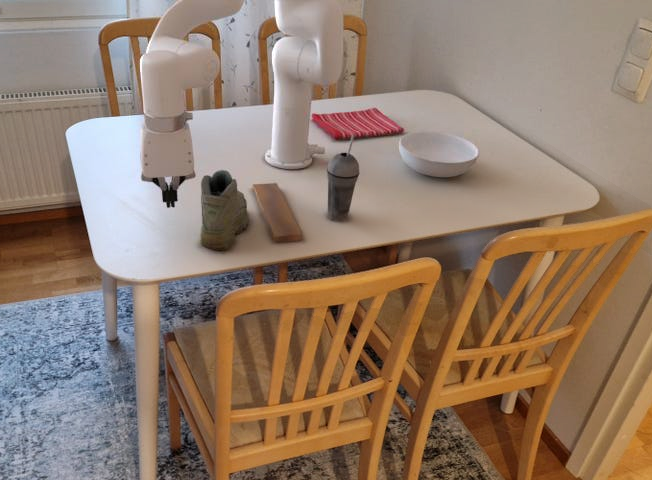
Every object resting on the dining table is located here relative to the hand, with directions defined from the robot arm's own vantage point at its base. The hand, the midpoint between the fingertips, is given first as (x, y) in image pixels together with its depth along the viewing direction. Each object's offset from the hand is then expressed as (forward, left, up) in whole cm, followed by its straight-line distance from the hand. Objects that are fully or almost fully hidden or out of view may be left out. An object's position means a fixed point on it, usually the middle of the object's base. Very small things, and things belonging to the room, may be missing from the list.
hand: (170, 204), depth 130 cm
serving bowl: (-72, -25, -8) cm, 77 cm away
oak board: (-24, -7, -8) cm, 26 cm away
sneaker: (-11, -1, -8) cm, 14 cm away
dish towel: (-60, -55, -8) cm, 82 cm away
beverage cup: (-38, -4, -8) cm, 39 cm away
